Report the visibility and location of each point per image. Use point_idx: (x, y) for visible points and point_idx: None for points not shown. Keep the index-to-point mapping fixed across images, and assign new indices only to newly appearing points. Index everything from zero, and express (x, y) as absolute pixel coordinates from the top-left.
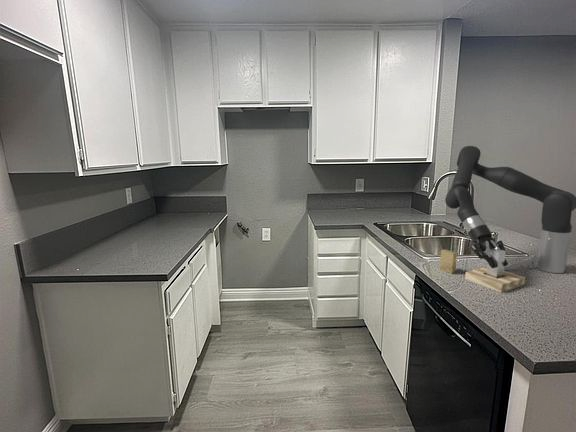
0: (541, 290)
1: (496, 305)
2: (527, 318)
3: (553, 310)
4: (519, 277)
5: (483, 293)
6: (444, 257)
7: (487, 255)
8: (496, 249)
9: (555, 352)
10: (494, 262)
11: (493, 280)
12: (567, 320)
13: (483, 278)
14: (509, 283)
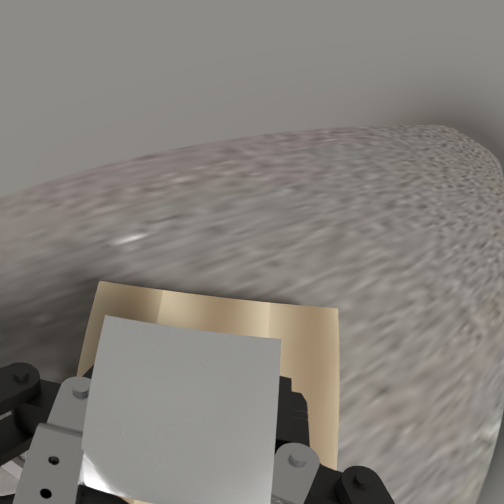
0: (129, 231)
1: (440, 271)
2: (418, 189)
3: (300, 160)
4: (122, 300)
5: (404, 361)
6: None
7: (314, 474)
8: (127, 448)
9: (460, 139)
10: (283, 395)
11: (319, 370)
12: (329, 133)
13: (337, 425)
14: (260, 304)
